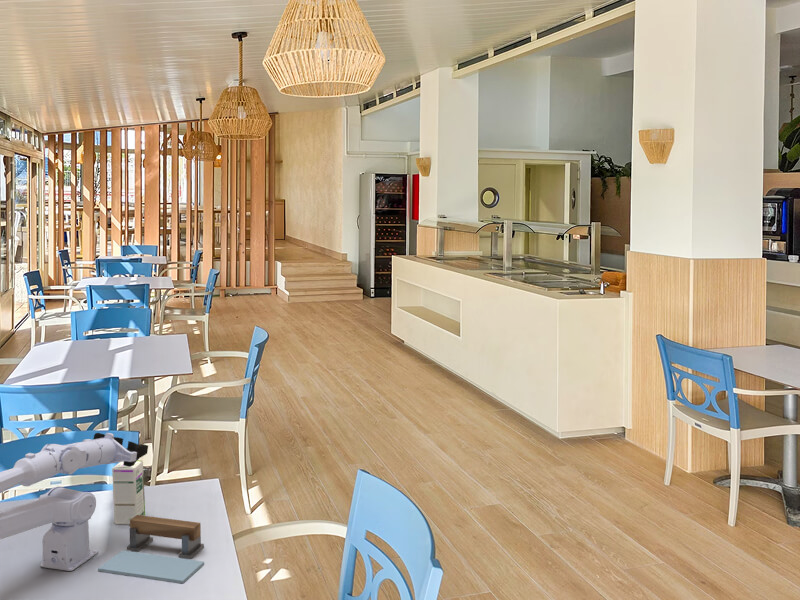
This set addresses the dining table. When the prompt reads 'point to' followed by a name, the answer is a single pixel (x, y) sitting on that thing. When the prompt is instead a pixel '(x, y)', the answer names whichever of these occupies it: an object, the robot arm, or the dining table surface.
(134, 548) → the bracket
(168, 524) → the rail
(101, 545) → the dining table surface
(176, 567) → the mat
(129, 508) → the syrup box
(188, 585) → the dining table surface
